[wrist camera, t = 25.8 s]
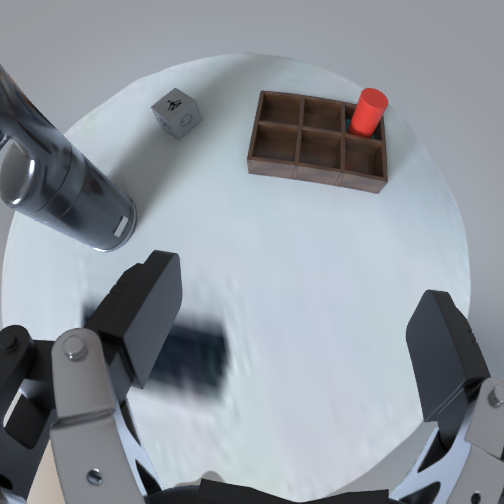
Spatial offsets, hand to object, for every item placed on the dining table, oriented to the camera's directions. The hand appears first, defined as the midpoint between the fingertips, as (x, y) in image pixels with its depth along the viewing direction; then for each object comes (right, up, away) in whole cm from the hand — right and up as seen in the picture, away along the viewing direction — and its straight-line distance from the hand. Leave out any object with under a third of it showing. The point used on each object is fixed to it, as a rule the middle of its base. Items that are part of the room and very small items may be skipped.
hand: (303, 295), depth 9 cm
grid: (+8, +17, +33) cm, 38 cm away
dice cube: (-13, +22, +35) cm, 44 cm away
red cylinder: (+15, +19, +32) cm, 40 cm away
